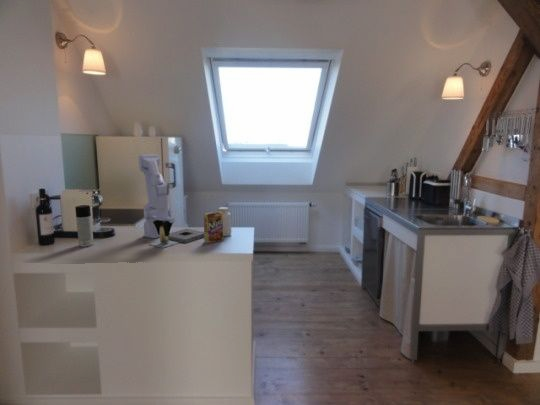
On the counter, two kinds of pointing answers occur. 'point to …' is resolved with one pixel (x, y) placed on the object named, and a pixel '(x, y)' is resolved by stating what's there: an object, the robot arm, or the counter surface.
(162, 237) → the end plug
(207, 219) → the candy box
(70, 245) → the counter surface
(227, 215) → the pill bottle
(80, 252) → the counter surface
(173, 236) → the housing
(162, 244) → the mat
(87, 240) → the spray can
